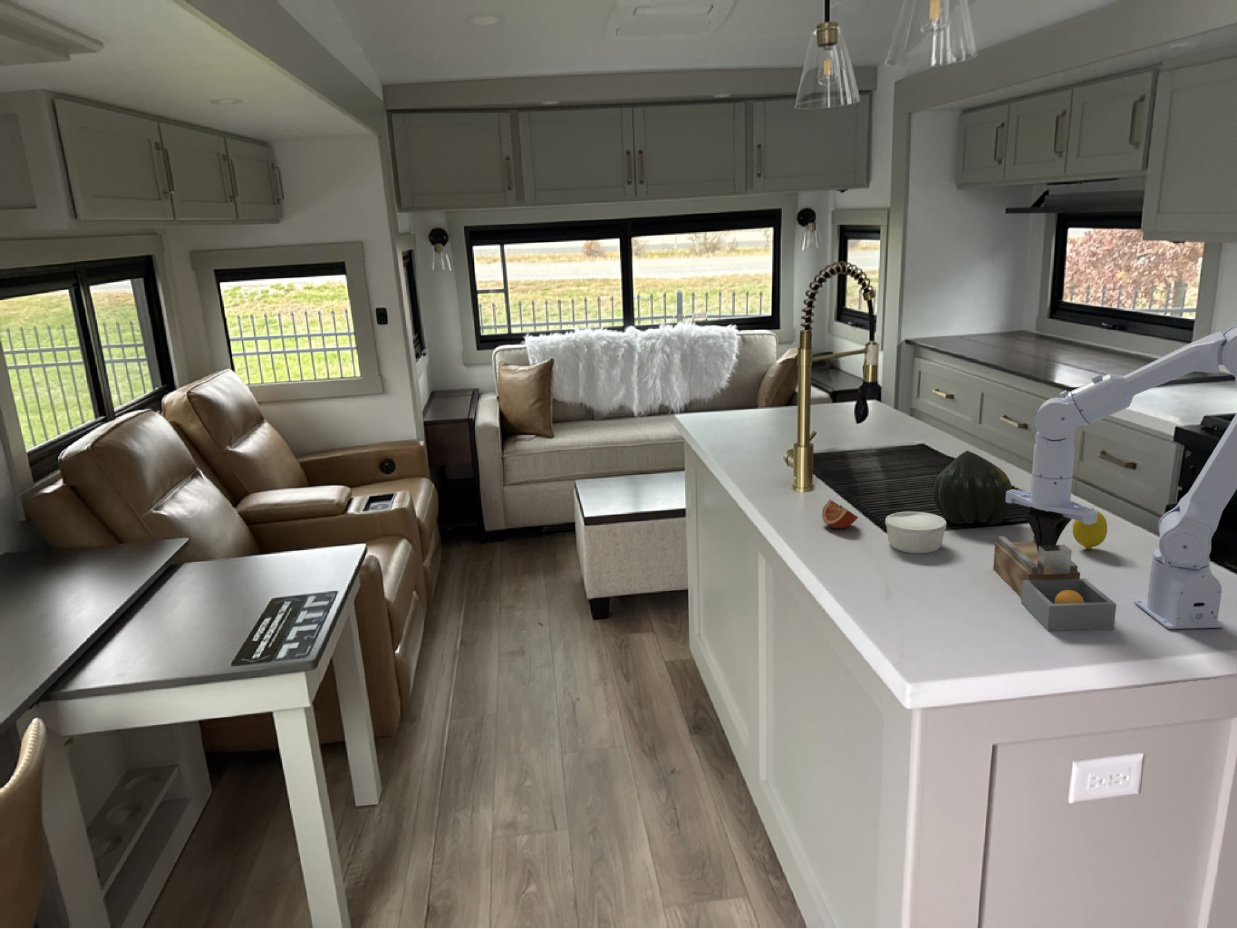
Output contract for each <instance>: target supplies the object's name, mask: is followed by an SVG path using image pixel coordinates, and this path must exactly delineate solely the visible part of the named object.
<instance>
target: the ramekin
mask: <svg viewBox="0 0 1237 929" xmlns="http://www.w3.org/2000/svg"><path fill="white" fill-rule="evenodd" d="M884 524H885V526H886V532H887V539H888V543H889V544H890V545H891V547H892V548H893V549H895V550H897V551H900V552H904V553H907V554H917V555H918V554H921V555H922V554H930V553H933V552H935V551H936V552H937V550H939V549H940V548H941V546H942V545H943V544H942V543H943V541H944V540H943V539H944V535H945V530H946V528H947V521H946V518H945V517H942V516H940V515H937V514H933V513H929V512H923V511H901V512H895V513H892V514H889V515H887V516H886V517H885V521H884Z"/></svg>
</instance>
